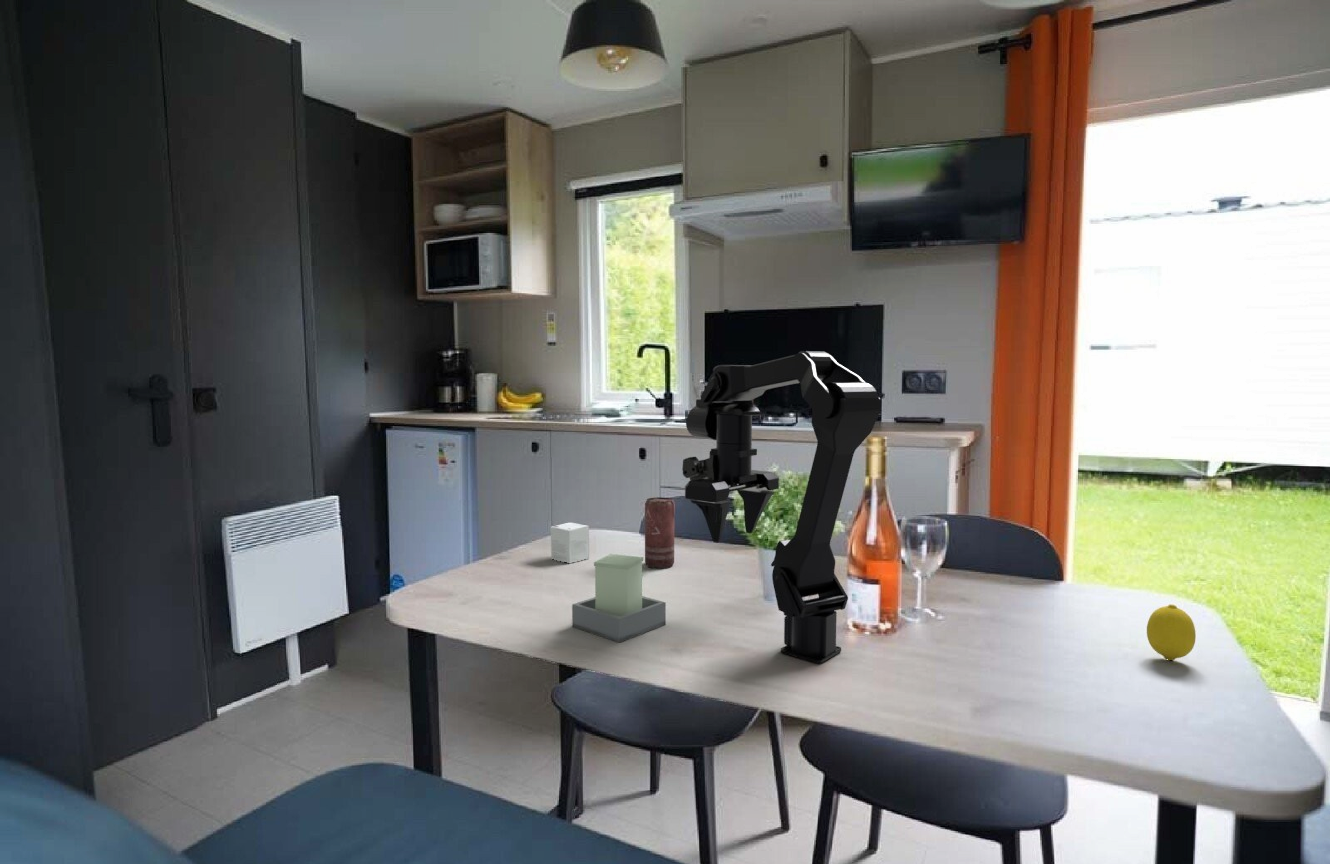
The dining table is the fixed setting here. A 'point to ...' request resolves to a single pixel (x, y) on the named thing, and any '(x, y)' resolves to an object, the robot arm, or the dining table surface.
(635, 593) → the small green box
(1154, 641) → the lemon
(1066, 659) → the dining table surface
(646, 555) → the can
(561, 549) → the skincare box
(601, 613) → the crate
